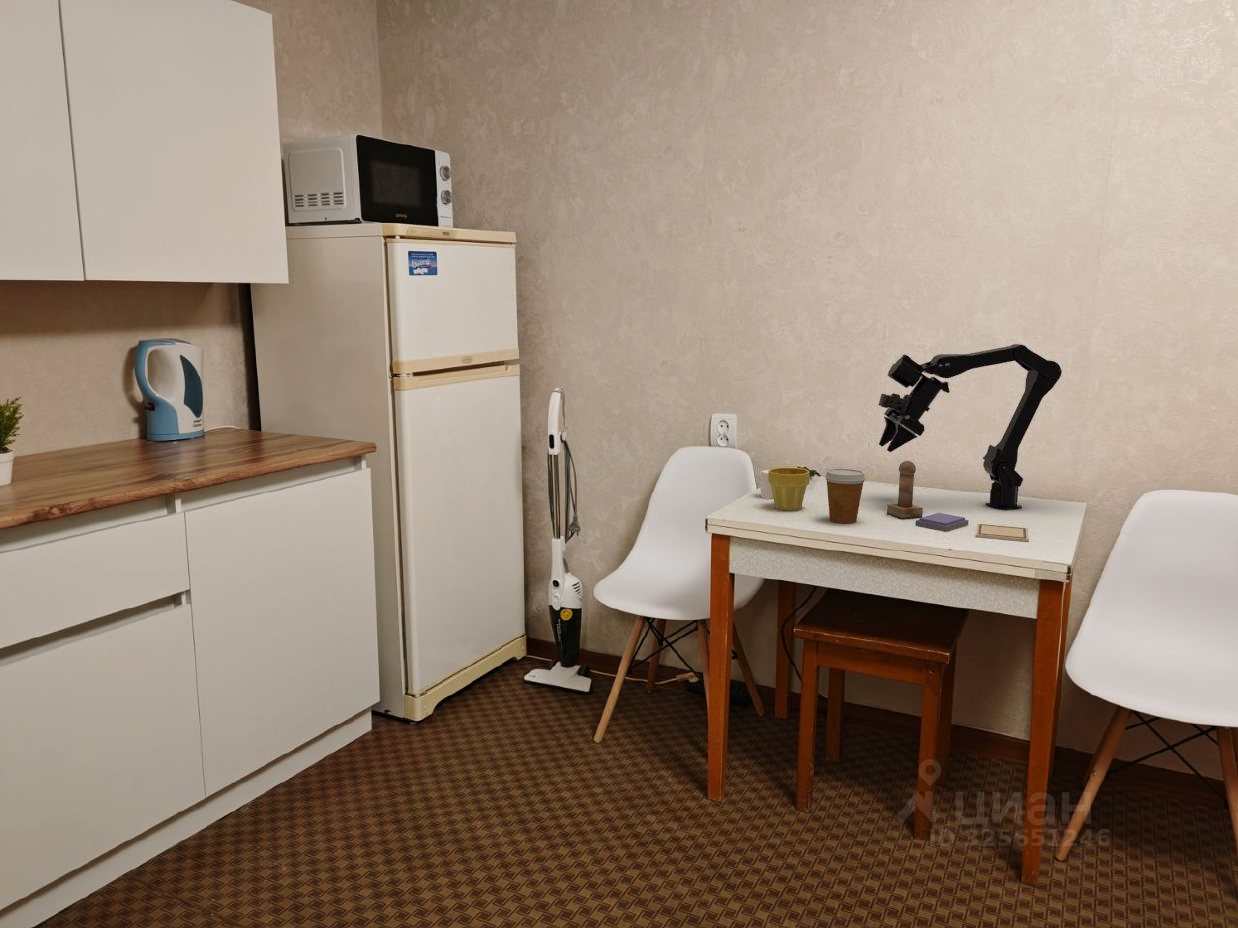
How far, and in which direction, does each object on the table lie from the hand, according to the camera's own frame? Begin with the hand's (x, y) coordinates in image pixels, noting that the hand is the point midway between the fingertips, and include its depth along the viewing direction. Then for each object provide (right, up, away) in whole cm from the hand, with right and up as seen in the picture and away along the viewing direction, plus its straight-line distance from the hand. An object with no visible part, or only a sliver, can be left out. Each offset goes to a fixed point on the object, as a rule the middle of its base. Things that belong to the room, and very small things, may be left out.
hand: (884, 448), depth 242 cm
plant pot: (-25, -15, -2) cm, 30 cm away
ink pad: (+8, -19, -19) cm, 28 cm away
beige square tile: (+19, -20, -27) cm, 39 cm away
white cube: (-27, -13, +12) cm, 32 cm away
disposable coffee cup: (-14, -18, -15) cm, 27 cm away
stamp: (+2, -17, -10) cm, 20 cm away
